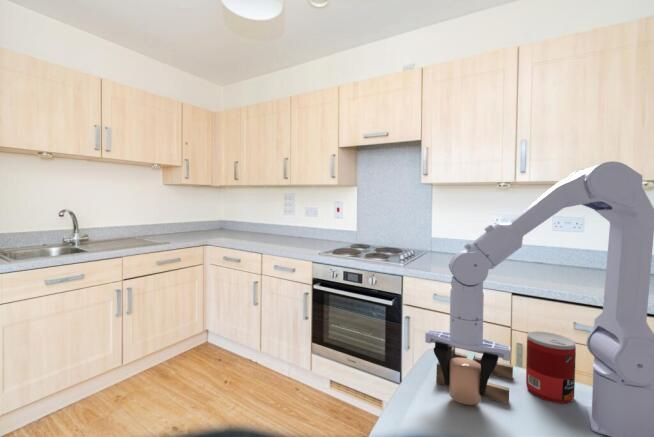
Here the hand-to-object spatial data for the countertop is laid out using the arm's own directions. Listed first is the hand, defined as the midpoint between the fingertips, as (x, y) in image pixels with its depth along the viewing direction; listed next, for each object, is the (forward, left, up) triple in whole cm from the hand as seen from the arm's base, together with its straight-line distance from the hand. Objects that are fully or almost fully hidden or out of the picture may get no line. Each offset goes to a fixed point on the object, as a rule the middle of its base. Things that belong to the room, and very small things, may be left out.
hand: (464, 388), depth 61 cm
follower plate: (+1, -10, -3) cm, 11 cm away
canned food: (-13, -13, -3) cm, 19 cm away
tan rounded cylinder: (0, 0, -1) cm, 1 cm away
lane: (-1, -10, -3) cm, 11 cm away
